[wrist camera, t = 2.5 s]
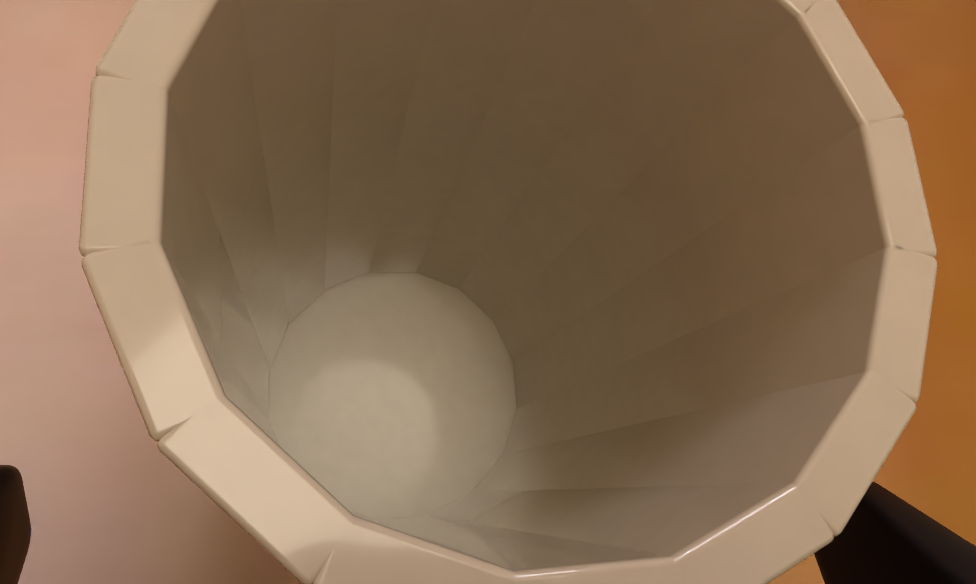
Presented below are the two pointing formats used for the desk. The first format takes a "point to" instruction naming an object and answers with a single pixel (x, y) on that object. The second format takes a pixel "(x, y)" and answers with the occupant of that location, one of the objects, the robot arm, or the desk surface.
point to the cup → (512, 279)
